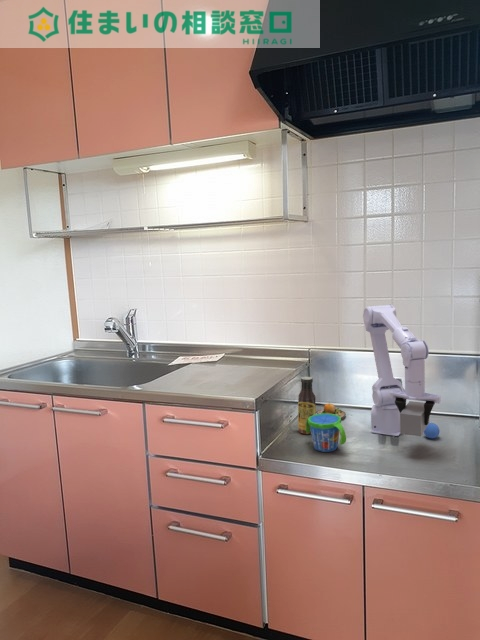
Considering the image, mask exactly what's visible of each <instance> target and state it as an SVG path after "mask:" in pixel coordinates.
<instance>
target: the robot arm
mask: <svg viewBox="0 0 480 640" xmlns="http://www.w3.org/2000/svg"><path fill="white" fill-rule="evenodd" d="M362 318H363V324H364V328H365V331H366V332H368V333H369V335H370V339H371V346H372V352H373V356H374V361H375V366H376V371H377V377H378V379H377V380H376V381H375V382H374V384H372V387H371V390H372V394H371V395H372V402H373V403H374V404H373V405H372V406H371V411H370V425H371V426H370V433H373V434H379V435H386V436H387V435H388V436H394V437H395V436H396V437H399V436H400V435H401V434H400V413H401V411H402V410H403V409H404V408H405V406H406V405H407V400H409V401H417V402H424V403H425V404H424V411H425V421H424V423H425V425H428V421H429V422H430V416H431V413H432V410H433V408H434V406H435V404H441V401H442V400H441V397H442V396H441V395H438V394H433V393H427V392H426V390H425V388H426V387H425V385H426V384H425V383H426V381H425V379H426V377H425V376H426V375H425V374H426V373H425V372H426V371H425V370H426V369H425V360H426V359H427V358H428V357H429V355H430V354H429V346H428V344H427V343H426V341H425V340H424V339H417V337H416V336H415V335H414V334H413V332H412V330H410V329H409V328H408V327H407V326H402V324H401V323H400V321H399V319H398V317H397V309H396V307H395V306H394V305H393V304H392V303H391V304H385V305H384V304H383V305H373V306H372V305H370V306H368V305H366V306H365V307H364V309H363V313H362ZM388 330H389V331H390V332H391V333H392V340H393V342H395V344H396V345H397V346H398V348H399V349H400V355H401V357H402V364H403V366H404V388H403V384H402V381H400V380H398V379H397V378H395V377H394V373H393V369H392V363H391V358H390V352H389V348H388V342H387V339H386V332H387V331H388Z"/></svg>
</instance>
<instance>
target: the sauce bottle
mask: <svg viewBox="0 0 480 640" xmlns="http://www.w3.org/2000/svg"><path fill="white" fill-rule="evenodd" d="M313 381H314V380H313V377H312V376H301V378H300V382H301V388H300V389H301V390H300V391H299V392H300V393H299V394H298V400H297V401H298V402H297V428H298V433H300V434H303V435H312V434H311V432H310V433H306V430H305V428H306V421H307V419H308V418H309V417H310V416H312V415H315V414H316V412H317V411H316V410H317V409H316V408H317V407H316V406H317V404H316V395H315V393H314V392H313Z"/></svg>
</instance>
